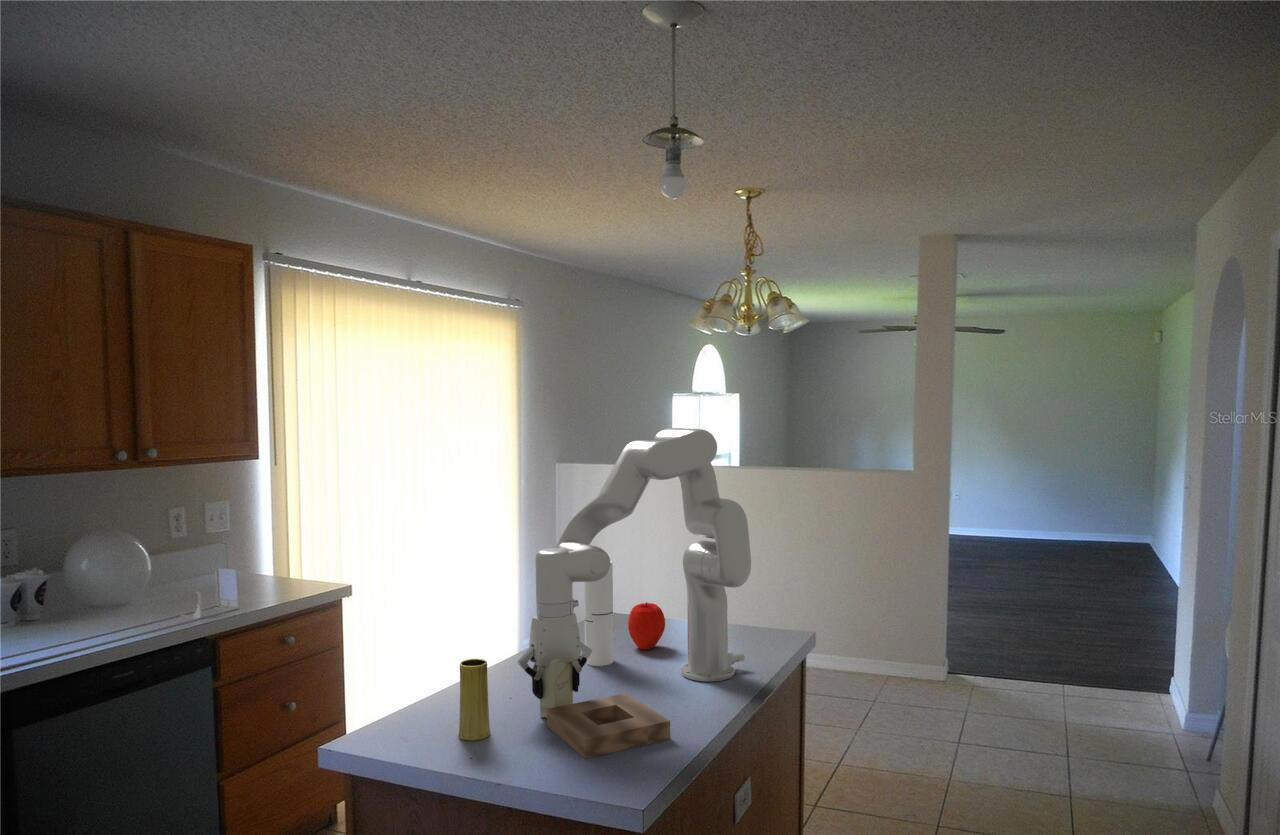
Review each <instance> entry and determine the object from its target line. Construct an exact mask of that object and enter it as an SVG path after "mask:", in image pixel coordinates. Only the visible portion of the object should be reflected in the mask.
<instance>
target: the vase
mask: <svg viewBox="0 0 1280 835" xmlns="http://www.w3.org/2000/svg"><path fill="white" fill-rule="evenodd" d="M488 682H489V681H488V662H487V660H486V659H483V658H470V659H465V660H462V661H461V662H460V663H459V726H458V727H459V729H458V734H457V735H458V738H459V739H460V740H463V741H467V742H468V741H469V742H474V741H481V740H485V739H486V738H488V737H489V736H490V735H491V731H490V730H491V728H490V712H489V688H488V687H489V685H488Z"/></svg>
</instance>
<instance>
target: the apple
mask: <svg viewBox="0 0 1280 835" xmlns="http://www.w3.org/2000/svg"><path fill="white" fill-rule="evenodd" d="M665 618H666V617H665V615H664V612H663V610H662V608H661V607H659V606H658V605H657V604H656V603H653V602H652V603H651V602H647V601H646V602H644V603H639V604H636V605H634V606H633V607H632V608H631V610H630V613H629V616H628V622H627V629H628V633H629V636H630V638H631V640H632V642H634V644H635V645H636V647H637V648H638V649H640V650H642V651H643V650H650V649H651V650H652V649H653V648H654V647H655V646H656V645H657V644H658V642H659V641H660V639H661V638H662V636H663V634H664V631H665V627H666V619H665Z"/></svg>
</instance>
